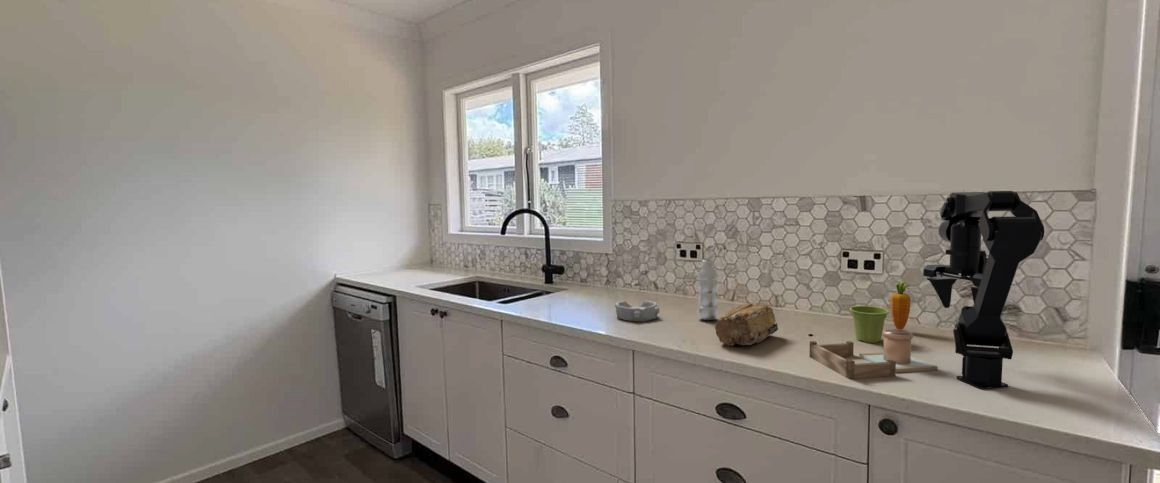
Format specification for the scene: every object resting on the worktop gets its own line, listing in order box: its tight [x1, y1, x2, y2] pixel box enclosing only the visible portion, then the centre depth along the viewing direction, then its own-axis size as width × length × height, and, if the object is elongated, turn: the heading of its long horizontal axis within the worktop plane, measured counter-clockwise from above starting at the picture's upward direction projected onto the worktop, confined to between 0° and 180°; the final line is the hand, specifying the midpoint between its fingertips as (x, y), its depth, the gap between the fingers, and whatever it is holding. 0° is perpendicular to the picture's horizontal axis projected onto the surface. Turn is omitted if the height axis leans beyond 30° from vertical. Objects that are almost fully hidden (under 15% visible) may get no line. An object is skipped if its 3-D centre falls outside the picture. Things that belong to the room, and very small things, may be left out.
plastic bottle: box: [696, 258, 719, 321], centre depth 170 cm, size 6×7×20 cm
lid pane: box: [858, 351, 939, 373], centre depth 124 cm, size 12×11×1 cm
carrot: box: [890, 281, 911, 330], centre depth 151 cm, size 5×5×15 cm
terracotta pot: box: [882, 328, 914, 364], centre depth 124 cm, size 6×6×7 cm
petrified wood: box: [714, 302, 779, 347], centre depth 147 cm, size 19×13×10 cm
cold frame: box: [809, 340, 897, 380], centre depth 123 cm, size 16×11×4 cm
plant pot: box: [849, 305, 890, 344], centre depth 143 cm, size 9×9×9 cm
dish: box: [614, 300, 661, 322], centre depth 177 cm, size 14×14×5 cm
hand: (962, 311), depth 122 cm, fingers open, 9 cm apart
